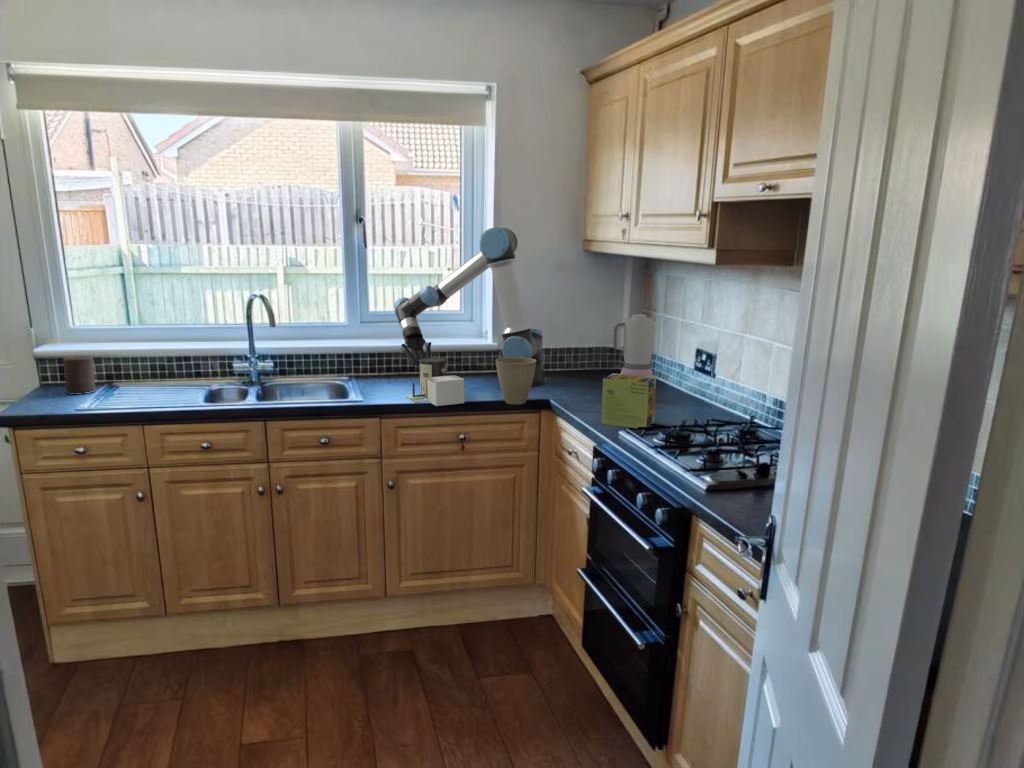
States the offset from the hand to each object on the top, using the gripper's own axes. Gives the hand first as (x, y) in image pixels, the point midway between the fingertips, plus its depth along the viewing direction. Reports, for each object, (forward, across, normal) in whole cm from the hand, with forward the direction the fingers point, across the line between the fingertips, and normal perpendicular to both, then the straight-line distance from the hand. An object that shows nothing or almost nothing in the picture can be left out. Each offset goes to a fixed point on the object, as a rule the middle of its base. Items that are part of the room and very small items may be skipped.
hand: (426, 378), depth 273 cm
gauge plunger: (+14, +3, +8) cm, 16 cm away
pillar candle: (-38, +120, -46) cm, 134 cm away
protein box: (+57, -42, +48) cm, 85 cm away
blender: (+37, -65, +29) cm, 80 cm away
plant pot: (+26, -23, +18) cm, 39 cm away
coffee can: (+9, 0, 0) cm, 9 cm away
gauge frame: (+14, +3, +6) cm, 16 cm away
